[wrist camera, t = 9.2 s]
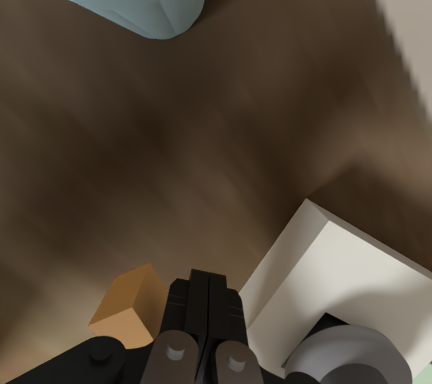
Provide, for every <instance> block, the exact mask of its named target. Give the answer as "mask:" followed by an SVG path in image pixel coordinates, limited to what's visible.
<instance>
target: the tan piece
mask: <svg viewBox="0 0 432 384" xmlns="http://www.w3.org/2000/svg"><path fill="white" fill-rule="evenodd" d="M167 297H168V292H167V290H166V288H165V287H164V285H163V283H162V282H161V280H160V278H159V277H158V275H157V274H156V272H155V270H154V269H153V267H152V265H151V264H150V262H149V263H147V264H145V265H143V266H140V267H138V268H136V269H133V270H131V271H129V272H126V273H124V274H122V275H119V276H117V277H115V279H114V281H113V282H112V284H111V286H110V288H109V289H108V291H107V293H106V295H105V297H104V298H103V300H102V302H101V304H100V305H99V307H98V309H97V311H96V313H95V314H94V316H93V318H92V320H91V321H90V323H89V325H88V326H89V327H90V329H91V330H92V332H93V333H94V334H95V336H96V337H97V336H111V337H114V338H116V339H118V340H120V341H121V342H122V343H123V345H124V346H125V348H126V349H132V348H139V347H143V346H146V345H148V344H149V343H151V342H152V341H153V340H155V338H156V337H157V336H158V334H159V331H160V327H161V323H162V318H163V314H164V310H165V306H166V302H167Z"/></svg>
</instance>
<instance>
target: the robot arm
mask: <svg viewBox="0 0 432 384" xmlns="http://www.w3.org/2000/svg"><path fill="white" fill-rule="evenodd" d="M6 384H321V383H320V382H319V381H317V380H316V379H315V378H313V377H312V376H310V375H308V374H306V373H303V372H298V371H295V372H291V373H289V374H288V375H287V376H286V378H285V379H283V378H281V377H279V376H277V375H275V374H273V373H271V372H269V371H267V370H265V369H264V368H263V367H261V366H260V365H259V363H258V359H257V357H256V355H255V354H254V352H253V351H252V350H251V349H250V348H249V344H248V337H247V331H246V324H245V318H244V311H243V304H242V299H241V297H240V296H239V294H238V293H237V291H236V290H234V289H229V288H227V283H226V276H225V275H220V274H216V273H211V272H209V273H208V272H205V271H201V270H196V269H191V273H190V277H189V280H184V279H179V278H177V279H176V280H175V281H174V282H173V283H172V284H171V285H170V289H169V293H168V297H167V302H166V306H165V310H164V314H163V318H162V323H161V327H160V331H159V334H158V336H157V337H156V338H155V340H153V341H152V342H151V343H149V344H148V345H146V346H143V347H139V348H132V349H126V348H125V346H124V345H123V343H122V342H121V341H120V340H118V339H116V338H114V337H111V336H97V337H93V338H90V339H88V340H86V341H84V342H82V343H80V344H79V345H77V346H75V347H73V348H71V349H69V350H67V351H66V352H64V353H62V354H60V355H58V356H56V357H54V358H52V359H51V360H49V361H47V362H45V363H43V364H41V365H39V366H37V367H36V368H34V369H32V370H30V371H28V372H26V373H24V374H22V375H21V376H19V377H17V378H15V379H13V380H11V381H9V382H7V383H6Z"/></svg>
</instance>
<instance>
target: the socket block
mask: <svg viewBox="0 0 432 384" xmlns="http://www.w3.org/2000/svg"><path fill="white" fill-rule="evenodd" d="M238 294H239V296H240V297H241V299H242V304H243V311H244V318H245V324H246V331H247V337H248V344H249V348H250V349H251V350H252V351H253V352H254V354H255V355H256V357H257V359H258V363H259V365H260V366H261V367H263V368H264V369H265V370H267V371H269V372H271V373H273V374H275V375H277V376H279V377H281V378H283V379H285V367H286V364H287V361H288V359H289V357H290V356H291V354H292V353H293V351H294V350H295V349H296V348H297V346H298V345H299V344H300V342H301V341H302V340H303V339H304V338H305V336H306V335H307V334H308V333H309V332H310V330H311V329H312V328H313V327H314V326H315V324H316V323H317V322H318V321H319V319H320V318H321V317H322V316H323V315H324V313H325V312H327V313H329V314H331V315H333V316H335V317H337V318H339V319H340V320H342V321H344V322H346V323H348V324H350V325H359V326H365V327H368V328H372V329H374V330H376V331H379V332H380V333H382V334H383V335H385V336H386V337H387V338H388V339H389V340H390V341H391V342H392V343H393V344H394V346H395V347H396V348H397V350H398V351H399V352H400V354H401V355H402V356H403V357H404V359H405V360H406V361H407V363H408V365H409V367H410V369H411V372H412V380H413V379H414V378H415V377H416V376H417V375H418V374H419V373H420V372H421V371H422V370H423V369H424V368H425V367H426V366H427V365H428V364H429V363H430V362H431V361H432V272H431V271H429V270H427V269H426V268H424V267H422V266H421V265H419V264H417V263H415V262H414V261H412V260H410V259H409V258H407V257H405V256H404V255H402V254H400V253H398V252H397V251H395V250H393V249H392V248H390V247H388V246H387V245H385V244H383V243H381V242H380V241H378V240H376V239H375V238H373V237H371V236H370V235H368V234H366V233H364V232H363V231H361V230H359V229H358V228H356V227H354V226H353V225H351V224H349V223H347V222H346V221H344V220H342V219H341V218H339V217H337V216H335V215H334V214H332V213H330V212H329V211H327V210H325V209H324V208H322V207H320V206H318V205H317V204H315V203H313V202H312V201H310V200H308V199H307V198H306V199H305V200H304V202H303V203H302V204H301V206H300V207H299V209H298V210H297V211H296V213H295V214H294V216H293V217H292V219H291V220H290V221H289V223H288V224H287V226H286V227H285V228H284V230H283V231H282V233H281V234H280V236H279V237H278V238H277V240H276V241H275V243H274V244H273V245H272V247H271V248H270V250H269V251H268V252H267V254H266V255H265V257H264V258H263V260H262V261H261V262H260V264H259V265H258V267H257V268H256V269H255V271H254V272H253V274H252V275H251V277H250V278H249V279H248V281H247V282H246V284H245V285H244V286H243V288H242V289H241V291H240V292H239V293H238Z"/></svg>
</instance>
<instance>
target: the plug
mask: <svg viewBox="0 0 432 384" xmlns="http://www.w3.org/2000/svg"><path fill="white" fill-rule="evenodd" d="M295 371H298V372H303V373H306V374H308V375H310V376H312V377H313V378H315V379H316V380H317V381H319V382H320V383H321V384H412V372H411V369H410V367H409V365H408V363H407V361H406V360H405V359H404V357H403V356H402V355H401V354H400V352H399V351H398V350H397V348H396V347H395V346H394V344H393V343H392V342H391V341H390V340H389V339H388V338H387V337H386V336H385V335H383V334H382V333H380V332H379V331H376V330H374V329H372V328H368V327H365V326H359V325H350V324H348V323H346V322H344V321H342V320H340V319H339V318H337V317H335V316H333V315H331V314H329V313H327V312H325V313H324V315H323V316H322V317H321V318H320V319H319V321H318V322H317V323H316V324H315V326H314V327H313V328H312V329H311V330H310V332H309V333H308V334H307V335H306V336H305V338H304V339H303V340H302V341H301V342H300V344H299V345H298V346H297V348H296V349H295V350H294V351H293V353H292V354H291V356H290V357H289V359H288V361H287V364H286V367H285V378H286V376H287V375H288V374H289V373H291V372H295Z"/></svg>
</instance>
